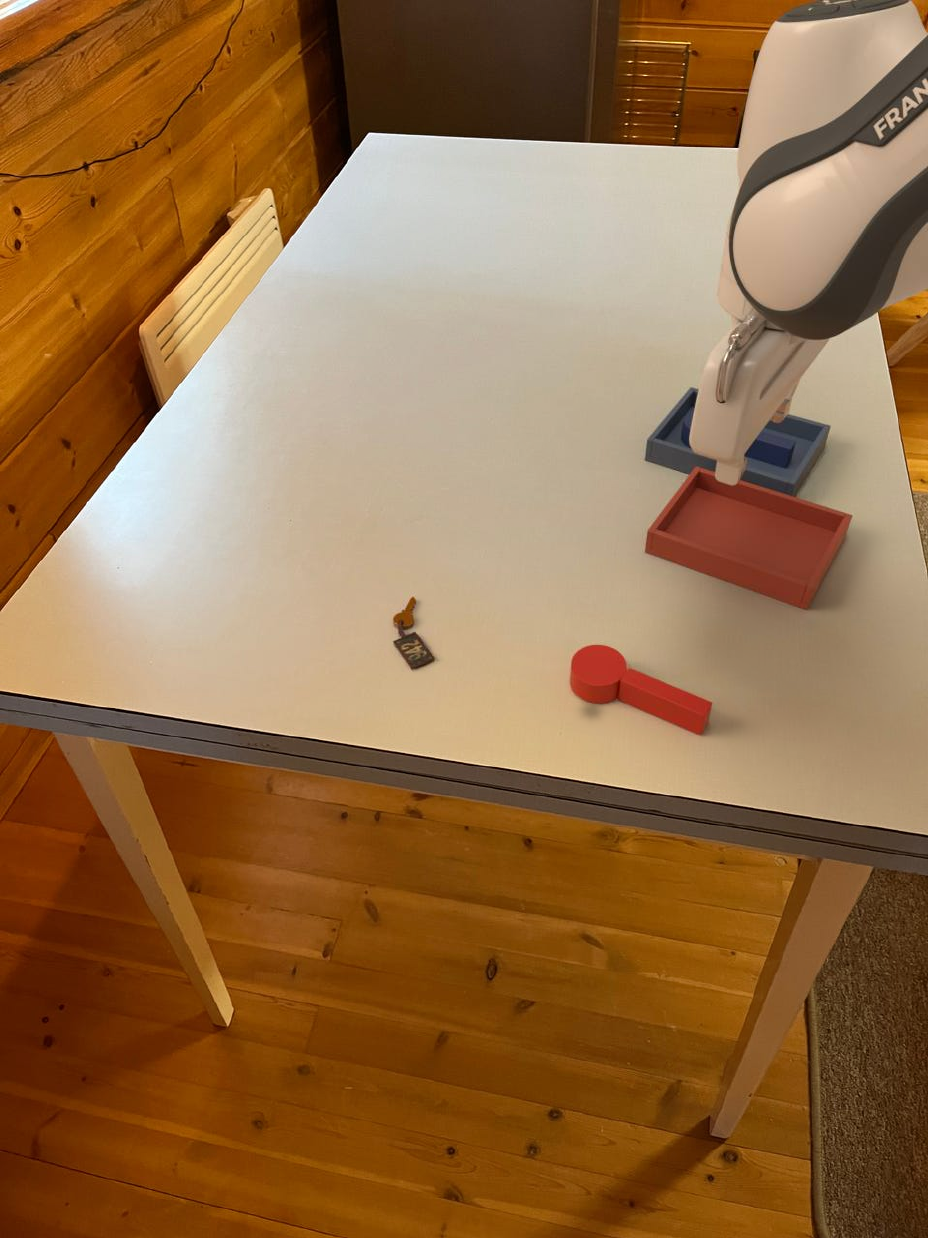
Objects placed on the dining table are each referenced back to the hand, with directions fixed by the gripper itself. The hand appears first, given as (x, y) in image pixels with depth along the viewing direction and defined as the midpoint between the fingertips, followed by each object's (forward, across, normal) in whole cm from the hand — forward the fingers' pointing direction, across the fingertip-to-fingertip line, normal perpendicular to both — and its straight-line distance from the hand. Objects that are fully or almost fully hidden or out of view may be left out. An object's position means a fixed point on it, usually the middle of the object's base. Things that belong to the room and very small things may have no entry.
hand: (752, 446), depth 73 cm
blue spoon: (+14, +19, +6) cm, 24 cm away
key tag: (+14, -20, +20) cm, 31 cm away
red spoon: (+14, -16, 0) cm, 22 cm away
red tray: (+14, +6, 0) cm, 15 cm away
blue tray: (+14, +19, +7) cm, 24 cm away
